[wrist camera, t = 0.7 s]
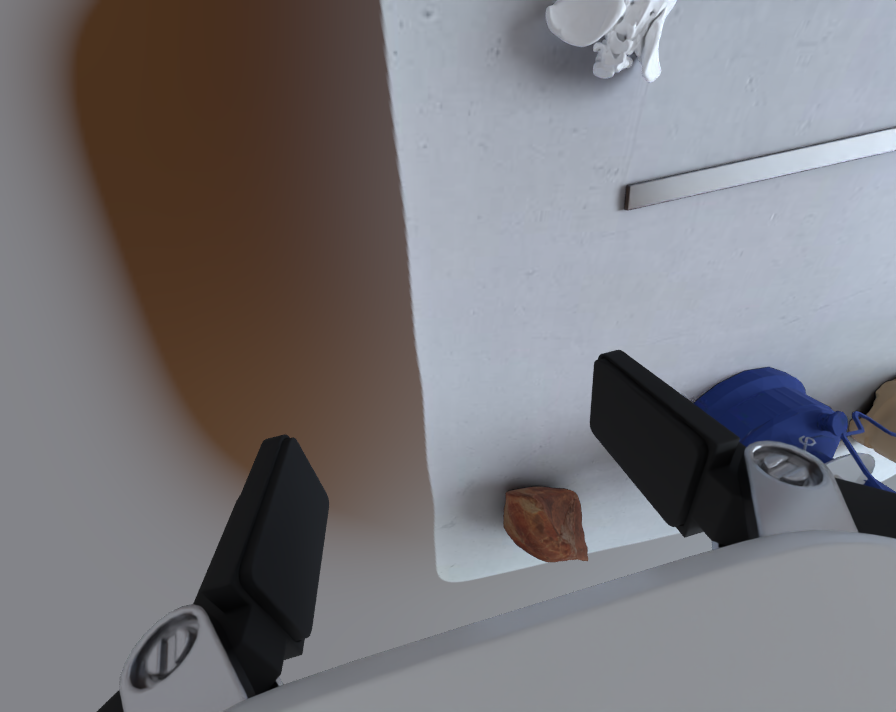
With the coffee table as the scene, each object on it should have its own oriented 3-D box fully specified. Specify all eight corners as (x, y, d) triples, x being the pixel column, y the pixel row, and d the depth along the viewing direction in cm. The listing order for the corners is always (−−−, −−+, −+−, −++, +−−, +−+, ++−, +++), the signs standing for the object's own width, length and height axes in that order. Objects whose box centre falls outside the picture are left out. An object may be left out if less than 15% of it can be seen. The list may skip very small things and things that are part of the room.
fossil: (497, 492, 31) (589, 593, 26) (554, 438, 34) (644, 518, 29) (485, 525, 41) (550, 603, 36) (530, 480, 44) (595, 546, 39)
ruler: (626, 185, 23) (630, 185, 23) (923, 121, 25) (930, 120, 24) (623, 210, 24) (627, 210, 23) (911, 145, 26) (919, 145, 25)
